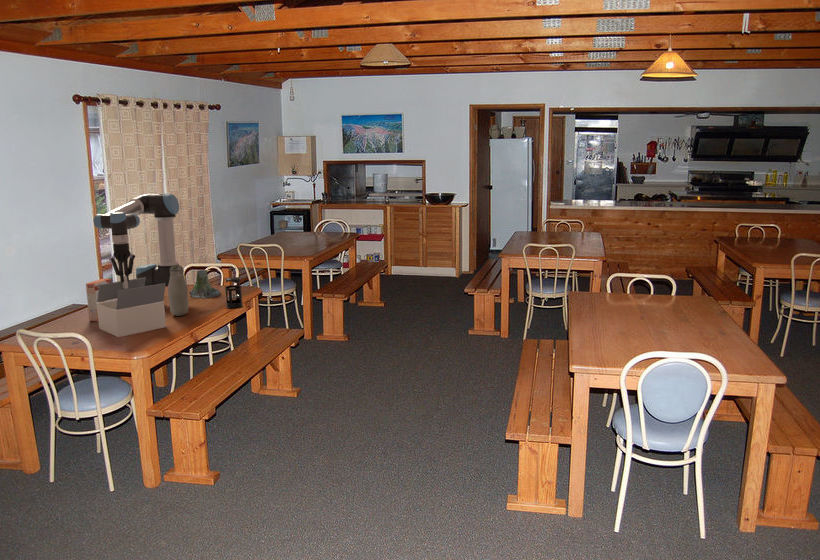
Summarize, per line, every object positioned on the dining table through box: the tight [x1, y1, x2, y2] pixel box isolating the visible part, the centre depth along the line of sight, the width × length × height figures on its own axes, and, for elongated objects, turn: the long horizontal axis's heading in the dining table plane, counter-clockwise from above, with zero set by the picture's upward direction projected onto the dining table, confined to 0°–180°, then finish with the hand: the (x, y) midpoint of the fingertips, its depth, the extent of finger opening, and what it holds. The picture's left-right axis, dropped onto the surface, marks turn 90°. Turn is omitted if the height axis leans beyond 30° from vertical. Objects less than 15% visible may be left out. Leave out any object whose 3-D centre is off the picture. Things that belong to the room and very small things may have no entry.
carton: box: [97, 299, 167, 338], centre depth 355 cm, size 25×23×14 cm
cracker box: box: [85, 278, 114, 323], centre depth 374 cm, size 14×6×21 cm, turn 168°
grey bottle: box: [167, 264, 189, 317], centre depth 378 cm, size 10×10×28 cm
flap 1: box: [97, 277, 146, 302], centre depth 359 cm, size 24×11×1 cm
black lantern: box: [224, 267, 244, 310], centre depth 396 cm, size 12×9×23 cm
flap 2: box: [116, 283, 166, 310], centre depth 344 cm, size 24×11×1 cm
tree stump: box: [188, 269, 221, 299], centre depth 429 cm, size 18×20×18 cm
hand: (125, 288), depth 356 cm, fingers closed
